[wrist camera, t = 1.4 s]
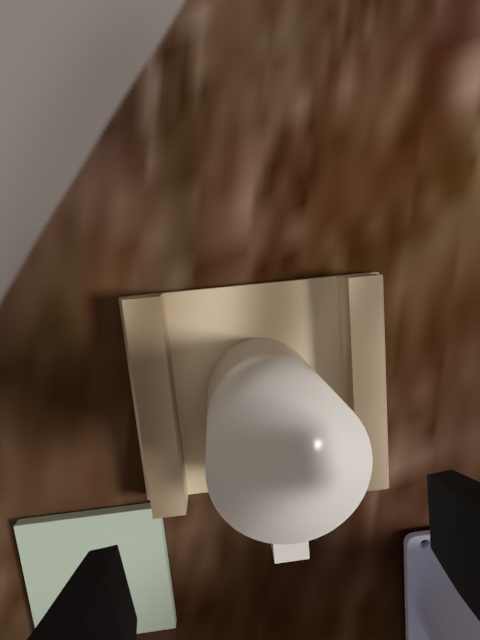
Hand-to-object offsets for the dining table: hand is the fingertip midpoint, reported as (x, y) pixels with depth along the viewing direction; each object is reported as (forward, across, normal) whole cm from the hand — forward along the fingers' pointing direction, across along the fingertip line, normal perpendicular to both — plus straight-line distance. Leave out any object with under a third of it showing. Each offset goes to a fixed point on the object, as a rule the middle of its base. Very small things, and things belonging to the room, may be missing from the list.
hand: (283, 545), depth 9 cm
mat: (+10, +8, +9) cm, 16 cm away
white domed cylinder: (+10, -1, 0) cm, 10 cm away
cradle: (+10, -1, 0) cm, 10 cm away
